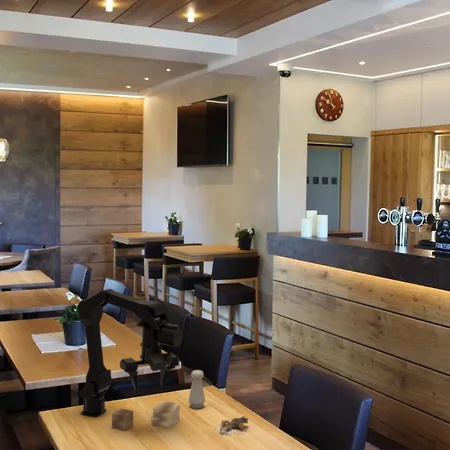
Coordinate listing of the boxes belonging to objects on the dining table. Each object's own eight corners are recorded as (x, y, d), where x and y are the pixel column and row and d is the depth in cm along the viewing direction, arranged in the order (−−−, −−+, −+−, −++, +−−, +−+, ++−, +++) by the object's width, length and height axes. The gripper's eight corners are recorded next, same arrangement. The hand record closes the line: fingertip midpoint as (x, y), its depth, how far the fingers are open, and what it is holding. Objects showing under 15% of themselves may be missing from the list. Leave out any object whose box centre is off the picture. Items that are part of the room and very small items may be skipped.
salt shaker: (202, 410, 215) (203, 374, 214) (186, 408, 216) (187, 373, 215) (206, 404, 220) (207, 369, 219) (191, 403, 221) (191, 367, 220)
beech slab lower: (151, 425, 202) (151, 416, 201) (160, 417, 208) (161, 409, 208) (170, 429, 199) (170, 420, 199) (179, 421, 206) (179, 412, 205)
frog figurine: (242, 420, 208) (243, 409, 208) (255, 435, 196) (255, 423, 196) (210, 424, 204) (210, 413, 204) (221, 439, 193) (221, 427, 193)
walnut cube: (111, 428, 198) (112, 413, 197) (119, 422, 202) (120, 408, 202) (125, 431, 196) (125, 416, 195) (133, 425, 201) (133, 410, 200)
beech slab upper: (152, 417, 201) (153, 408, 201) (159, 409, 208) (160, 400, 207) (173, 419, 199) (173, 410, 199) (179, 411, 206) (179, 403, 206)
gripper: (133, 351, 186) (131, 401, 187) (187, 345, 195) (185, 392, 197) (120, 341, 195) (118, 388, 197) (172, 336, 205) (170, 381, 206)
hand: (148, 388), depth 199 cm, fingers open, 9 cm apart
